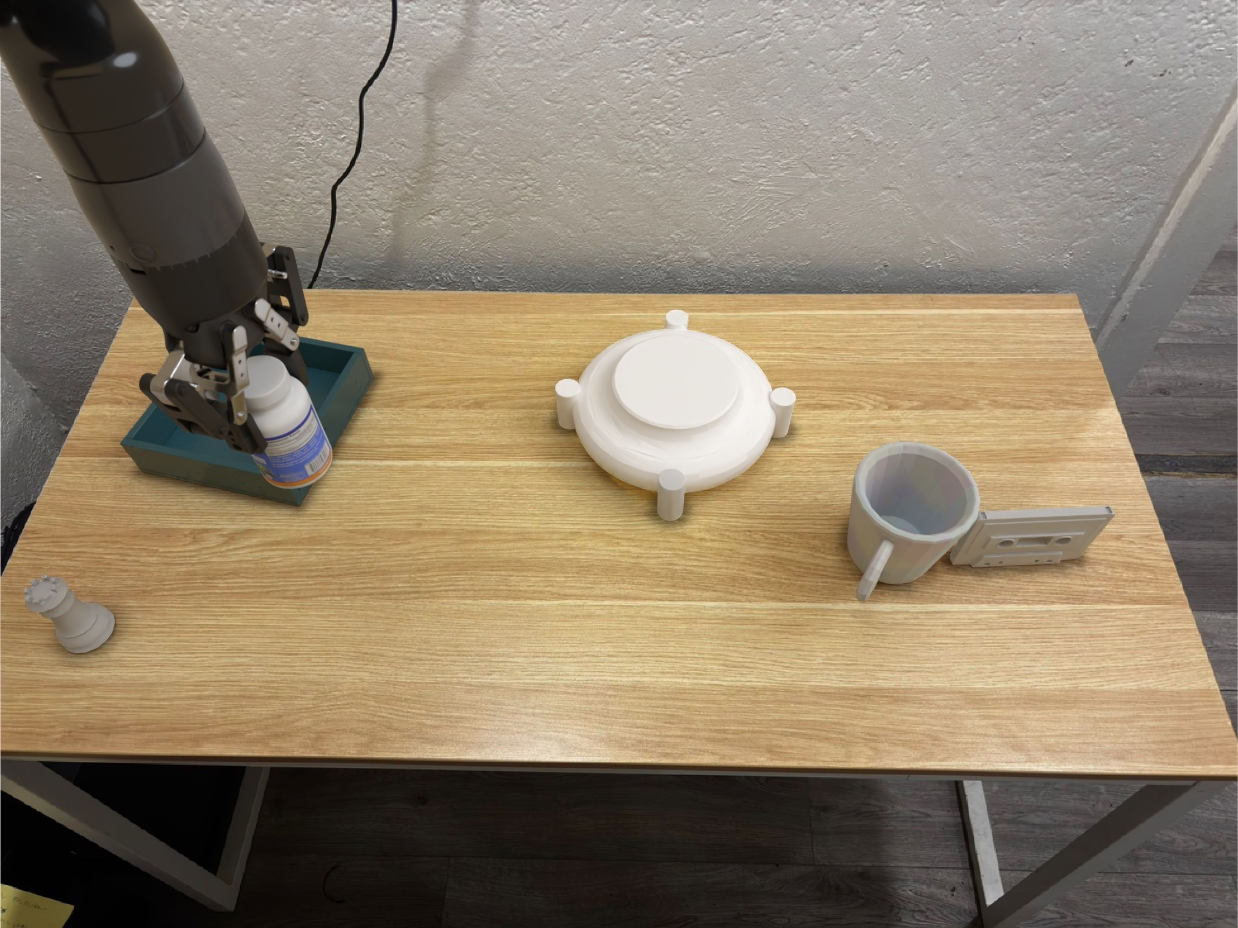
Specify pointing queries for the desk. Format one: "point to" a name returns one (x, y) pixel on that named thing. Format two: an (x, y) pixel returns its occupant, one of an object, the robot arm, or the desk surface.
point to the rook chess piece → (69, 614)
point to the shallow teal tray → (212, 463)
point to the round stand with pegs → (674, 411)
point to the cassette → (1030, 536)
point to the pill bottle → (285, 426)
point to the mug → (907, 512)
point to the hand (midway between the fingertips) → (274, 416)
